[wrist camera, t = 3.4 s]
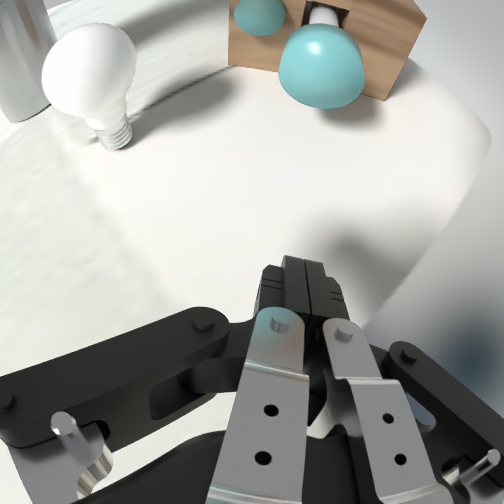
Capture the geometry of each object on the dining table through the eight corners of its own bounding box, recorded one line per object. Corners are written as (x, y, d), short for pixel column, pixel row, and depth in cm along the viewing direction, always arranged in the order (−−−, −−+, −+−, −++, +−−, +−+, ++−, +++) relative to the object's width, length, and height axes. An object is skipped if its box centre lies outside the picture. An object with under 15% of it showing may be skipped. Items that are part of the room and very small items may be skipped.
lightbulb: (80, 135, 21) (31, 39, 11) (145, 105, 22) (119, -2, 12) (91, 187, 19) (22, 80, 9) (167, 151, 21) (136, 25, 10)
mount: (386, 112, 24) (432, 26, 14) (223, 74, 24) (225, -28, 14) (374, 55, 28) (402, -13, 18) (248, 25, 28) (254, -49, 18)
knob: (350, 117, 17) (376, 58, 12) (273, 98, 17) (284, 33, 12) (343, 28, 22) (356, -11, 17) (294, 16, 22) (302, -24, 17)
